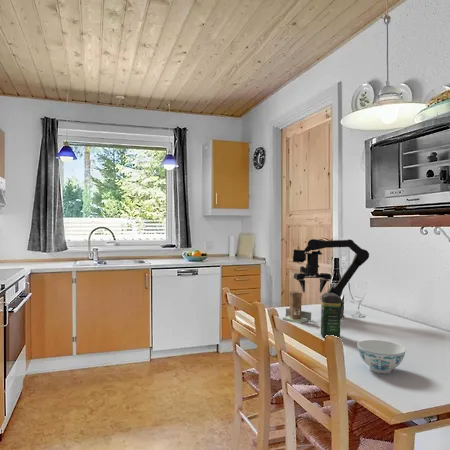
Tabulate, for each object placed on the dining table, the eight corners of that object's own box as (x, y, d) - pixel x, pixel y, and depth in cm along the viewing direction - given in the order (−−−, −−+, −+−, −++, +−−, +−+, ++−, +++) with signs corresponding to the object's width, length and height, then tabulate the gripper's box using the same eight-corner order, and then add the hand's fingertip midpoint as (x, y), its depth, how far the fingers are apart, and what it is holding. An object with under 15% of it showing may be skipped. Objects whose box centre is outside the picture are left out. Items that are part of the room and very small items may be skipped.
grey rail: (311, 320, 201) (311, 312, 201) (310, 320, 200) (310, 312, 200) (287, 315, 210) (287, 308, 210) (285, 316, 209) (285, 308, 209)
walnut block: (297, 317, 203) (298, 291, 203) (301, 319, 198) (301, 292, 198) (289, 317, 202) (289, 291, 202) (292, 319, 198) (293, 293, 198)
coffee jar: (342, 340, 167) (342, 295, 167) (322, 339, 168) (323, 294, 168) (337, 333, 177) (338, 291, 177) (319, 333, 178) (320, 291, 177)
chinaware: (348, 369, 134) (348, 345, 134) (369, 358, 144) (369, 337, 144) (393, 382, 123) (394, 357, 123) (412, 370, 134) (412, 347, 134)
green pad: (307, 320, 200) (307, 318, 200) (300, 323, 194) (300, 321, 194) (290, 317, 206) (290, 315, 206) (282, 319, 201) (282, 317, 201)
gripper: (323, 261, 221) (322, 289, 221) (290, 261, 218) (290, 290, 218) (331, 263, 210) (331, 293, 210) (297, 263, 207) (297, 293, 207)
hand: (312, 292), depth 211 cm, fingers open, 9 cm apart
